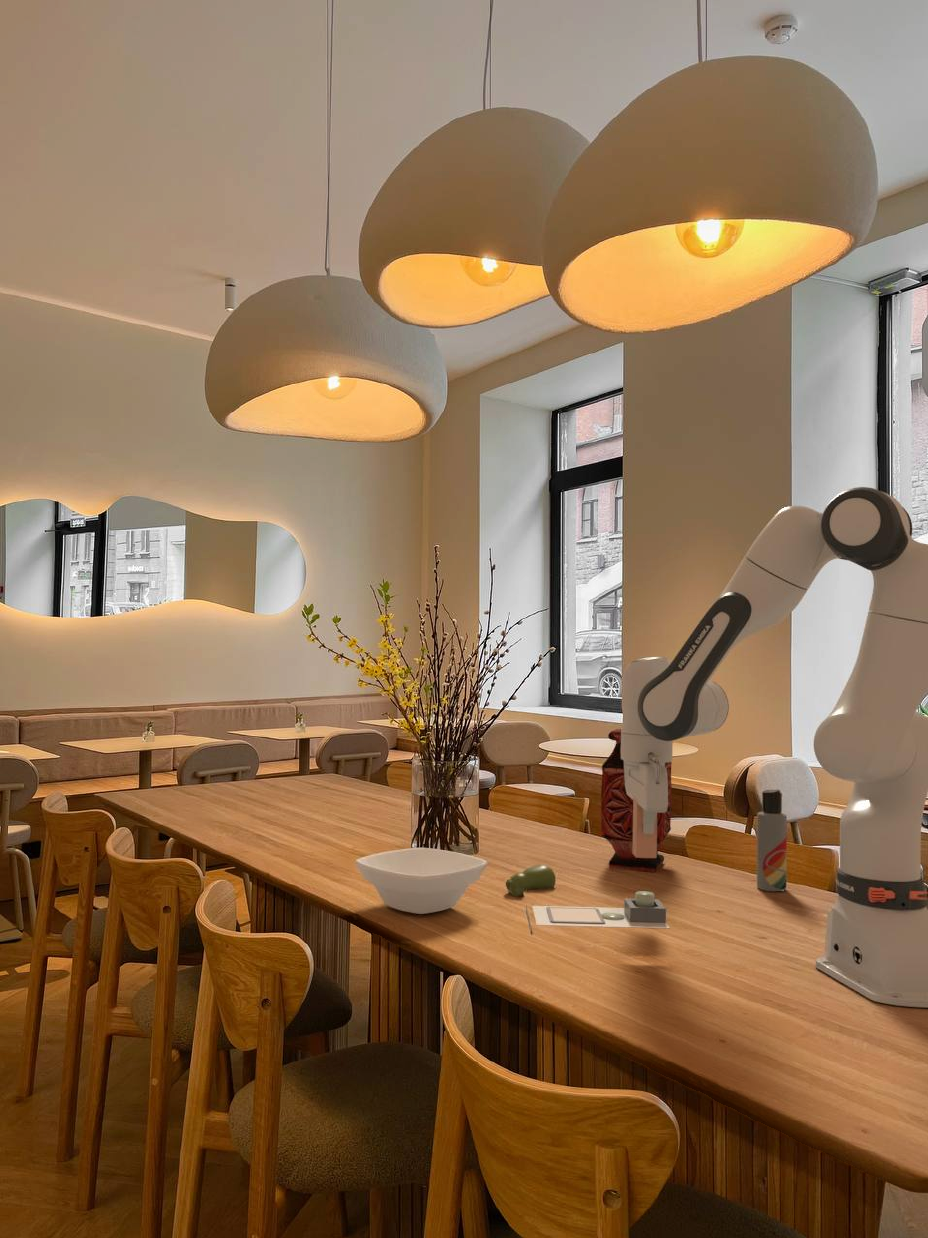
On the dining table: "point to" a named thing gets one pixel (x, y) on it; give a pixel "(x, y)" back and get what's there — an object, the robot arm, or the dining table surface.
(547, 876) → the pear
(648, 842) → the terracotta rectangular block
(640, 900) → the button
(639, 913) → the button housing
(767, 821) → the lotion bottle
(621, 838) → the vase
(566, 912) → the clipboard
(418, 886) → the bowl
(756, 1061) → the dining table surface
